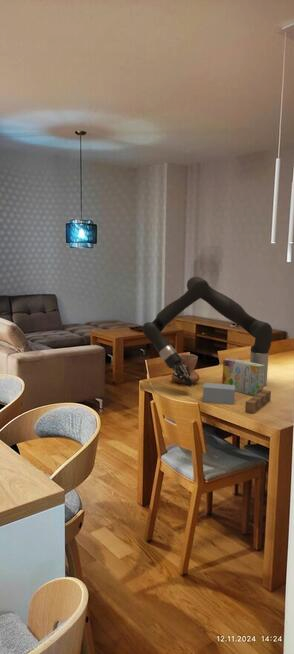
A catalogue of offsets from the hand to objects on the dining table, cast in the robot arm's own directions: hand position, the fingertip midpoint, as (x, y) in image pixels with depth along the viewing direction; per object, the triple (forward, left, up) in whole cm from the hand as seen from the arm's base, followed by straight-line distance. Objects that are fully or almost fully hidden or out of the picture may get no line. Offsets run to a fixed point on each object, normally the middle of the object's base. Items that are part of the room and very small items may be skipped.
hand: (191, 385), depth 225 cm
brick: (0, +14, -5) cm, 15 cm away
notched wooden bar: (-3, +32, -5) cm, 32 cm away
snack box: (-22, +17, -5) cm, 28 cm away
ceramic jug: (-19, -13, -5) cm, 24 cm away
